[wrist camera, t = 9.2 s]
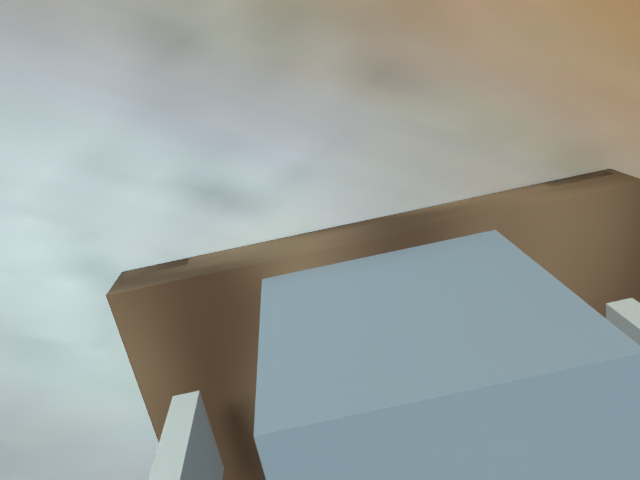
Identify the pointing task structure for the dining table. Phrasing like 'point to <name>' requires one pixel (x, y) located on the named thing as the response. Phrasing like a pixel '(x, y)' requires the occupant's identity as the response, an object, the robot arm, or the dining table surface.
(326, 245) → the board
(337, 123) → the dining table surface
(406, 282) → the cube
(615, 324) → the robot arm
